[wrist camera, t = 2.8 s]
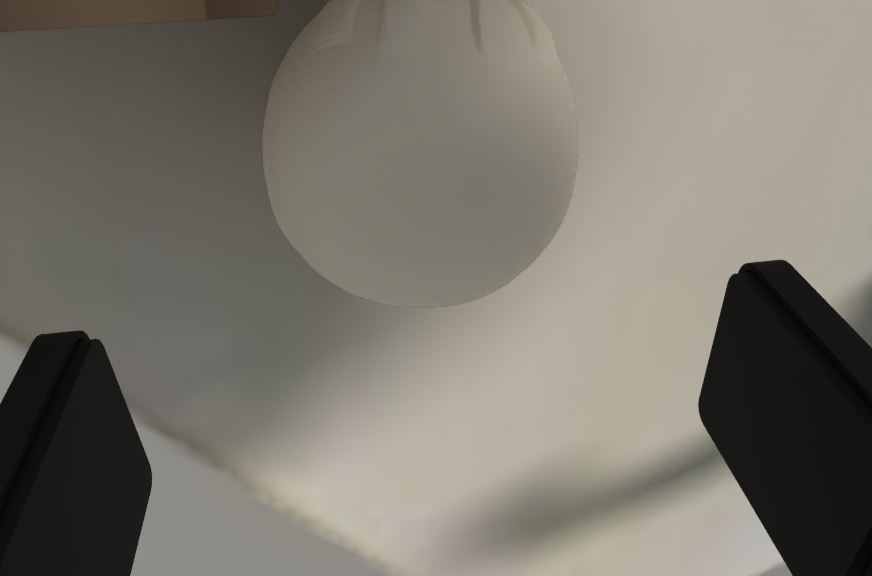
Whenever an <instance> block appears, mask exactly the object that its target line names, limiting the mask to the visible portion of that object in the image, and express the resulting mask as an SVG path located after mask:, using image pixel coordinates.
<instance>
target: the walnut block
mask: <svg viewBox="0 0 872 576" xmlns="http://www.w3.org/2000/svg"><path fill="white" fill-rule="evenodd" d="M277 3H278V0H0V32H9V31H25V30H42V29H59V28H76V27H92V26H109V25H126V24H143V23H160V22H176V21H193V20H210V19H227V18H243V17H260V16H274V15H275V11H276V7H277Z"/></svg>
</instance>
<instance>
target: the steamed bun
mask: <svg viewBox="0 0 872 576" xmlns="http://www.w3.org/2000/svg"><path fill="white" fill-rule="evenodd" d="M262 153H263V156H262V157H263V165H264V167H263V168H264V174H265V181H266V186H267V190H268V195H269V199H270V205H271V208H272V210H273V214H274V216H275V218H276V221H277V223H278V225H279V227H280V229H281V231H282V232H283V234H284V235H285V237H286V238H287V239H288V240H289V242H290V243H291V245H292V246H293V247H294V248H295V249H296V251H298V253H299V254H300V255H301V256H302V258H304V259H305V260H306V261H307V263H309V265H310V266H311V267H312V268H313V269H314V270H315V271H316V272H318V273H319V274H320V275H321V276H322V277H324V278H325V279H327V280H328V281H330V282H332V283H333V284H335V285H336V286H338V287H340V288H341V289H343V290H345V291H347V292H349V293H350V294H353V295H355V296H358V297H361V298H363V299H367V300H370V301H374V302H378V303H381V304H386V305H392V306H401V307H411V308H434V307H445V306H446V307H447V306H454V305H458V304H463V303H467V302H470V301H473V300H476V299H478V298H481V297H483V296H486V295H488V294H490V293H492V292H494V291H496V290H497V289H499V288H501V287H503V286H505V285H506V284H507V283H509V282H510V281H512V280H513V279H514V278H515V277H516V276H518V275H519V274H520V273H521V272H523V270H525V269H526V268H527V267H528V266H529V265H531V263H532V262H534V260H535V259H536V258H537V257H538V256H539V255H540V254H541V252H542V251H543V250H544V248H546V246H547V245H548V244H549V243H550V241H551V240H552V239H553V237H554V236H555V234H556V232H557V230H558V229H559V227H560V225H561V223H562V221H563V218H564V216H565V213H566V210H567V208H568V205H569V203H570V199H571V196H572V191H573V186H574V181H575V175H576V169H577V162H578V161H577V158H578V128H577V116H576V110H575V103H574V98H573V94H572V90H571V87H570V82H569V80H568V78H567V75H566V73H565V70H564V68H563V66H562V64H561V62H560V60H559V58H558V54H557V51H556V47H555V43H554V39H553V36H552V34H551V32H550V30H549V29H548V27H547V25H546V24H545V22H544V21H543V19H542V18H541V17H540V15H539V14H538V13H537V12H536V11H535V10H534V9H533V8H532V7H531V6H530V5H528V4H527V3H526V2H525V1H524V0H329V1H328V3H327V4H326V5H325V7H324V8H323V9H322V10H321V11H320V12H319V14H317V15H316V16H315V17H314V18H313V19H311V21H310V22H309V23H308V24H307V25H306V26H305V28H303V30H302V31H301V32H300V33H299V34H298V36H297V37H296V39H295V40H294V42H293V43H292V45H291V47H290V48H289V50H288V52H287V53H286V55H285V58H284V59H283V61H282V63H281V64H280V66H279V68H278V70H277V71H276V74H275V76H274V79H273V82H272V85H271V89H270V93H269V98H268V102H267V109H266V113H265V120H264V126H263V133H262Z"/></svg>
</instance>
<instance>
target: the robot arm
mask: <svg viewBox="0 0 872 576" xmlns="http://www.w3.org/2000/svg"><path fill="white" fill-rule="evenodd" d="M698 405H699V414H700V417H701V420H702V423H703V425H704V426H705V428H706V430H707V431H708V433H709V435H710V436H711V438H712V440H713V442H714V443H715V445H716V447H717V448H718V450H719V452H720V453H721V455H722V457H723V458H724V460H725V462H726V464H727V465H728V467H729V469H730V470H731V472H732V474H733V475H734V477H735V479H736V480H737V482H738V484H739V485H740V487H741V489H742V491H743V492H744V494H745V496H746V497H747V499H748V501H749V502H750V504H751V506H752V507H753V509H754V511H755V513H756V514H757V516H758V518H759V519H760V521H761V523H762V524H763V526H764V528H765V529H766V531H767V533H768V535H769V536H770V538H771V540H772V541H773V543H774V545H775V546H776V548H777V550H778V551H779V553H780V555H781V556H782V558H783V560H784V562H785V563H786V565H787V567H788V568H789V570H790V572H791V573H792V575H793V576H872V348H871V347H870V346H869V345H868V344H867V343H866V342H865V341H864V340H863V339H862V338H861V337H860V336H859V335H858V334H857V332H856V331H855V330H854V329H853V328H852V327H851V326H850V325H849V324H848V323H847V322H846V321H845V320H844V319H843V318H842V317H841V316H840V315H839V314H838V313H837V312H836V311H835V310H834V309H833V308H832V307H831V306H830V305H829V304H828V303H827V302H826V300H825V299H824V298H823V297H822V296H821V295H820V294H819V293H818V292H817V291H816V290H815V289H814V288H813V287H812V286H811V285H810V284H809V283H808V282H807V281H806V280H805V279H804V278H803V277H802V276H801V275H800V274H799V273H798V272H797V271H796V270H795V269H794V267H793V266H792V265H791V264H789V263H788V262H787V261H785V260H773V261H763V262H753V263H746V264H744V265H743V266H742V267H741V268H740V270H739V272H738V274H733V275H732V276H731V277H730V279H729V281H728V284H727V288H726V292H725V296H724V300H723V305H722V309H721V313H720V317H719V321H718V325H717V329H716V333H715V337H714V341H713V345H712V349H711V353H710V357H709V361H708V365H707V369H706V373H705V377H704V381H703V385H702V389H701V393H700V397H699V403H698ZM151 487H152V472H151V467H150V464H149V461H148V459H147V456H146V453H145V451H144V448H143V446H142V443H141V440H140V438H139V435H138V433H137V430H136V428H135V425H134V422H133V420H132V417H131V415H130V412H129V410H128V407H127V404H126V402H125V399H124V397H123V394H122V392H121V389H120V387H119V384H118V381H117V379H116V376H115V374H114V371H113V369H112V366H111V364H110V361H109V358H108V356H107V353H106V351H105V348H104V346H103V344H102V342H101V341H100V340H98V339H92V340H90V339H89V337H88V335H87V334H86V333H85V332H84V331H70V332H60V333H50V334H41V335H39V336H37V337H36V338H35V339H34V341H33V342H32V344H31V346H30V348H29V350H28V352H27V354H26V356H25V358H24V359H23V361H22V363H21V365H20V367H19V369H18V371H17V373H16V375H15V377H14V379H13V381H12V382H11V384H10V387H9V388H8V390H7V392H6V394H5V396H4V398H3V400H2V402H1V404H0V576H130V574H131V570H132V566H133V561H134V558H135V553H136V549H137V545H138V541H139V537H140V533H141V529H142V525H143V521H144V516H145V513H146V508H147V504H148V500H149V496H150V492H151Z"/></svg>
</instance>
